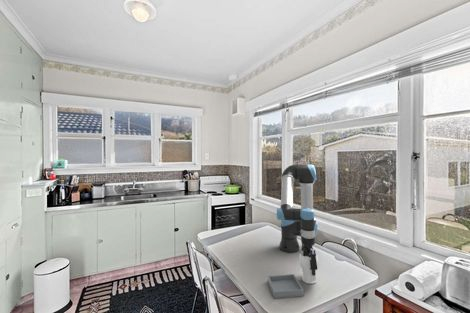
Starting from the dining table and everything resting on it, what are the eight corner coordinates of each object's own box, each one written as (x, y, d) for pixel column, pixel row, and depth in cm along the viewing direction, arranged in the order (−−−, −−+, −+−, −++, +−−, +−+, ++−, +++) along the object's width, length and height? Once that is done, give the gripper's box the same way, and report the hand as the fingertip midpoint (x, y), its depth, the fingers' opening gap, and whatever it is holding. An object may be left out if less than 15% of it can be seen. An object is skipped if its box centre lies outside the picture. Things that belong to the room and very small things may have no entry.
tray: (267, 281, 130) (267, 275, 130) (293, 279, 131) (293, 274, 131) (274, 298, 114) (274, 291, 114) (304, 295, 115) (303, 289, 115)
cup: (314, 275, 135) (313, 249, 135) (322, 285, 124) (321, 257, 125) (297, 275, 135) (296, 250, 135) (303, 285, 124) (302, 258, 124)
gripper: (294, 230, 141) (295, 265, 141) (309, 244, 118) (310, 287, 118) (306, 229, 141) (307, 265, 141) (323, 243, 118) (324, 286, 118)
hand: (308, 275), depth 130 cm, fingers closed on cup, 11 cm apart
